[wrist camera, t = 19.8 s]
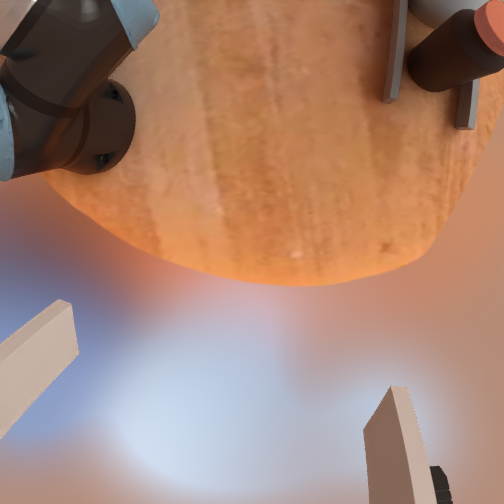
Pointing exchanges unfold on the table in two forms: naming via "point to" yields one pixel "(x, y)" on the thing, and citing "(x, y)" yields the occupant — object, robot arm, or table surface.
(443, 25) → the vinegar
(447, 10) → the stoneware jar
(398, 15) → the lane
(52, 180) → the table surface
